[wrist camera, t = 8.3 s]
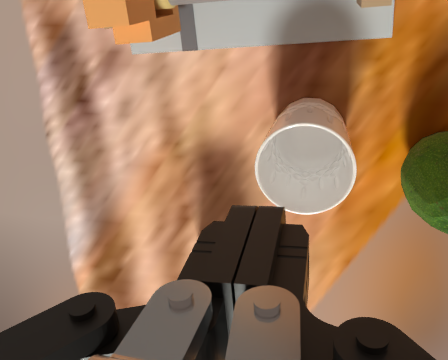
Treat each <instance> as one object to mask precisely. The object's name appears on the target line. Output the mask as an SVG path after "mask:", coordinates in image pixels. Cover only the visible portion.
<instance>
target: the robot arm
mask: <svg viewBox="0 0 448 360" xmlns="http://www.w3.org/2000/svg"><path fill="white" fill-rule="evenodd" d="M308 286H309V235H308V233H307V232H306V230H305V229H304V227H303V225H294V224H286V219H285V207H273V206H259V207H258V206H239V205H232V207H231V209H230V211H229V213H228V216H227V218H226V220H225V222H221V221H214V222H212V223H211V224H210V225H208V226H207V227H206V228H205V229H203V230H202V232H201V234H200V236H199V238H198V240H197V243H196V244H195V245H194V247H193V249H192V252H191V253H190V255H189V257H188V259H187V261H186V263H185V265H184V267H183V269H182V271H181V273H180V275H179V277H178V279H177V280H176V281H172V282H170V283H167V284H165V285H163V286H162V287H160V288H159V289H158V290H157V291H156V292H155V293H154V294H153V295H152V297H151V298H150V300H149V301H148V303H147V304H146V305H143V306H137V307H130V308H124V309H117V310H116V307H115V303H114V300H113V299H112V298H111V297H110V296H109V295H107V294H104V293H100V292H90V293H84V294H80V295H77V296H75V297H72V298H70V299H68V300H66V301H64V302H62V303H60V304H58V305H56V306H54V307H52V308H50V309H48V310H46V311H44V312H42V313H39V314H38V315H35V316H33V317H31V318H29V319H27V320H25V321H23V322H21V323H19V324H17V325H15V326H13V327H11V328H9V329H7V330H5V331H2V332H1V333H0V360H436V359H435V358H433V357H432V356H431V355H430V354H429V353H427V352H426V351H425V350H424V349H422V348H421V347H420V346H419V345H417V344H416V343H415V342H414V341H413V340H412V339H410V338H409V337H408V336H407V335H406V334H404V333H403V332H402V331H401V330H400V329H398V328H397V327H395V326H394V325H392V324H390V323H388V322H386V321H383V320H380V319H376V318H370V317H358V318H353V319H350V320H347V321H345V322H344V323H342V324H341V325H340V326H339V327H336V326H333V325H330V324H328V323H325V322H323V321H321V320H320V319H318V318H316V317H315V316H314V315H313V314H312V313H311V312H309V310H308V309H307V299H308Z"/></svg>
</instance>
